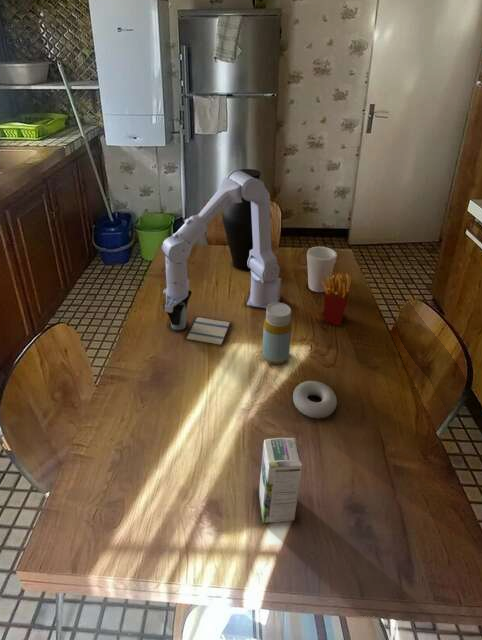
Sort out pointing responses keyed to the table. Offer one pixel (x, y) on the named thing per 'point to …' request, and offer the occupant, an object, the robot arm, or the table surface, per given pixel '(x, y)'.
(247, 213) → the vase
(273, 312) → the bottle
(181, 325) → the pepper shaker
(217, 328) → the dish cloth
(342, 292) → the french fries
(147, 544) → the table surface
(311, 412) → the donut
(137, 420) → the table surface
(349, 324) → the table surface
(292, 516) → the syrup box
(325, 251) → the foam cup
